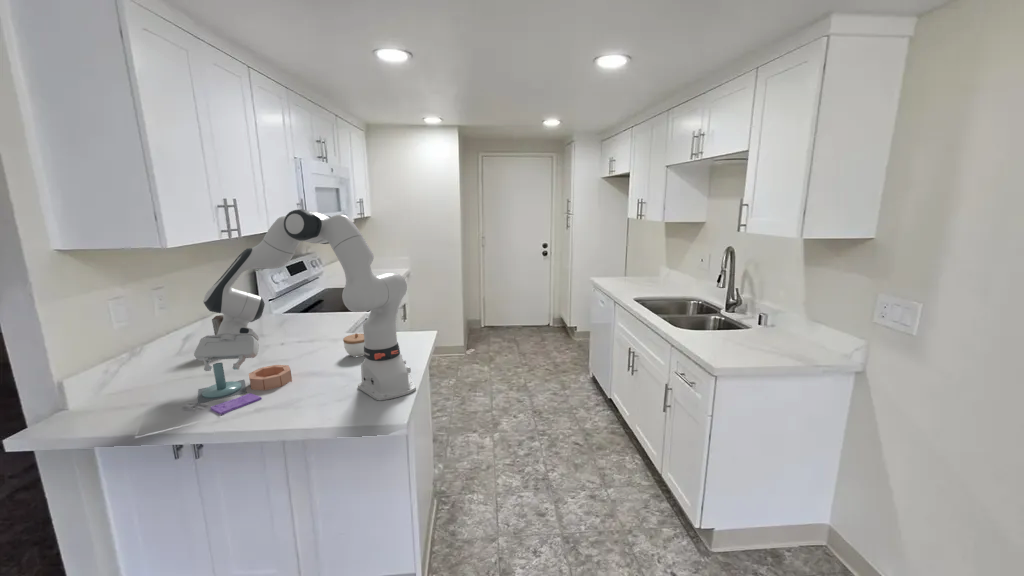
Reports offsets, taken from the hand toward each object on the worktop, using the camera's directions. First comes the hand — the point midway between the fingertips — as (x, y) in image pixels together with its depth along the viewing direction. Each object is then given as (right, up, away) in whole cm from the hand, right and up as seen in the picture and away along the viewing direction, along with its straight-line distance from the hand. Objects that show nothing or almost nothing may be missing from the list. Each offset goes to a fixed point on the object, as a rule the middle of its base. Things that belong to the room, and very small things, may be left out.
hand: (221, 369), depth 152 cm
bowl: (+14, -6, +6) cm, 17 cm away
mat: (0, -8, 0) cm, 8 cm away
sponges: (+12, -10, -10) cm, 19 cm away
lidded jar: (+36, 0, +34) cm, 49 cm away
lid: (0, -7, 0) cm, 7 cm away
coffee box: (-24, 0, +43) cm, 49 cm away
